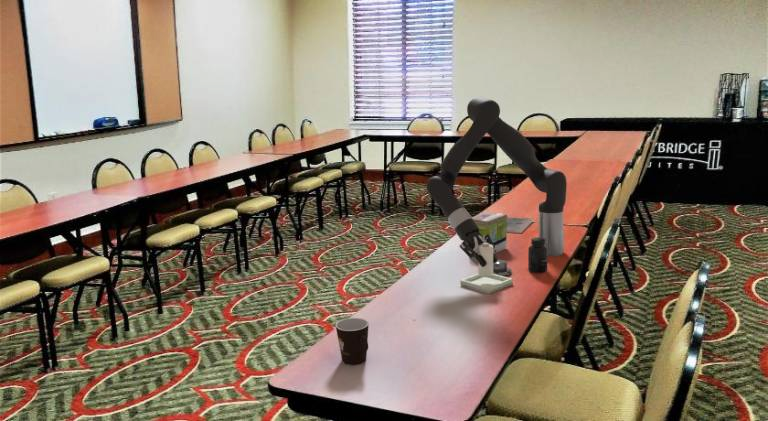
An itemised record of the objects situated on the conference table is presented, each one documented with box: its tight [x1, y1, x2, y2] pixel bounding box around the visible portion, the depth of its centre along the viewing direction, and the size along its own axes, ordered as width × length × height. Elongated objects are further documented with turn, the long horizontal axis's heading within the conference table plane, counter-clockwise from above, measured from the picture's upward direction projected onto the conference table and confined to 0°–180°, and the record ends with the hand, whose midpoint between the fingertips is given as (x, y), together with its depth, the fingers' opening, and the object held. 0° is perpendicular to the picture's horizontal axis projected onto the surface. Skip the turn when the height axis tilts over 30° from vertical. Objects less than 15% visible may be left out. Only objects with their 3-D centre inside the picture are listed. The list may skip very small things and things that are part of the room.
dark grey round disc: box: [493, 259, 513, 277], centre depth 235 cm, size 9×9×4 cm
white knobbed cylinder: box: [477, 243, 493, 276], centre depth 221 cm, size 5×5×11 cm
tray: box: [459, 272, 514, 295], centre depth 223 cm, size 13×13×2 cm
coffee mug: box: [335, 317, 369, 366], centre depth 169 cm, size 12×9×10 cm
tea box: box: [469, 211, 508, 255], centre depth 261 cm, size 15×10×15 cm
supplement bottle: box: [527, 236, 549, 274], centre depth 235 cm, size 7×7×12 cm
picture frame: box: [507, 216, 534, 234], centre depth 301 cm, size 16×2×22 cm
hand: (490, 263), depth 220 cm, fingers closed on white knobbed cylinder, 5 cm apart
